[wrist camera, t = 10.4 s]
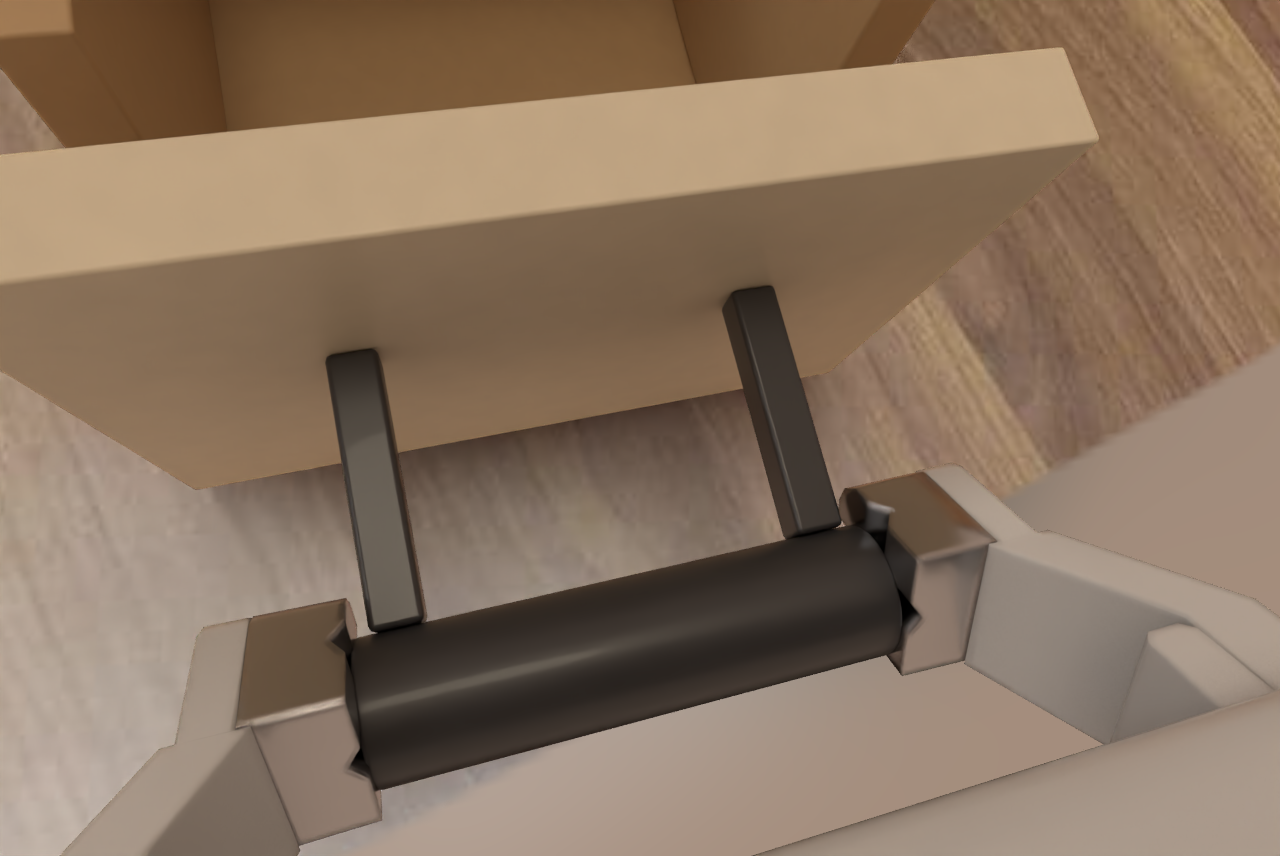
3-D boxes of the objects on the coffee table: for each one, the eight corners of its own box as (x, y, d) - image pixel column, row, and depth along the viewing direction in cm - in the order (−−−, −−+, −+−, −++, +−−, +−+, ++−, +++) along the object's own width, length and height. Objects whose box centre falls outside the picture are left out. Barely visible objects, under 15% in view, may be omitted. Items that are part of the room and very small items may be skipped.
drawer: (904, 622, 16) (1278, 582, 8) (232, 796, 13) (-93, 963, 6) (673, -149, 19) (789, -650, 12) (118, -127, 17) (-167, -743, 10)
